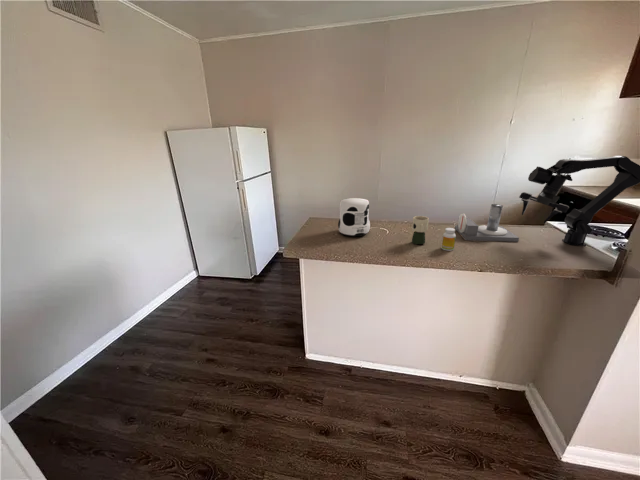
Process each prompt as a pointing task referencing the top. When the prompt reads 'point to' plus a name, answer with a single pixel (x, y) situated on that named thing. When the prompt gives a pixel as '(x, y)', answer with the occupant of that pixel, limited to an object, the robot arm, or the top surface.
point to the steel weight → (494, 217)
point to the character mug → (419, 229)
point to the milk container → (354, 217)
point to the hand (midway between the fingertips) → (532, 218)
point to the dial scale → (482, 231)
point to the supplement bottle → (448, 239)
